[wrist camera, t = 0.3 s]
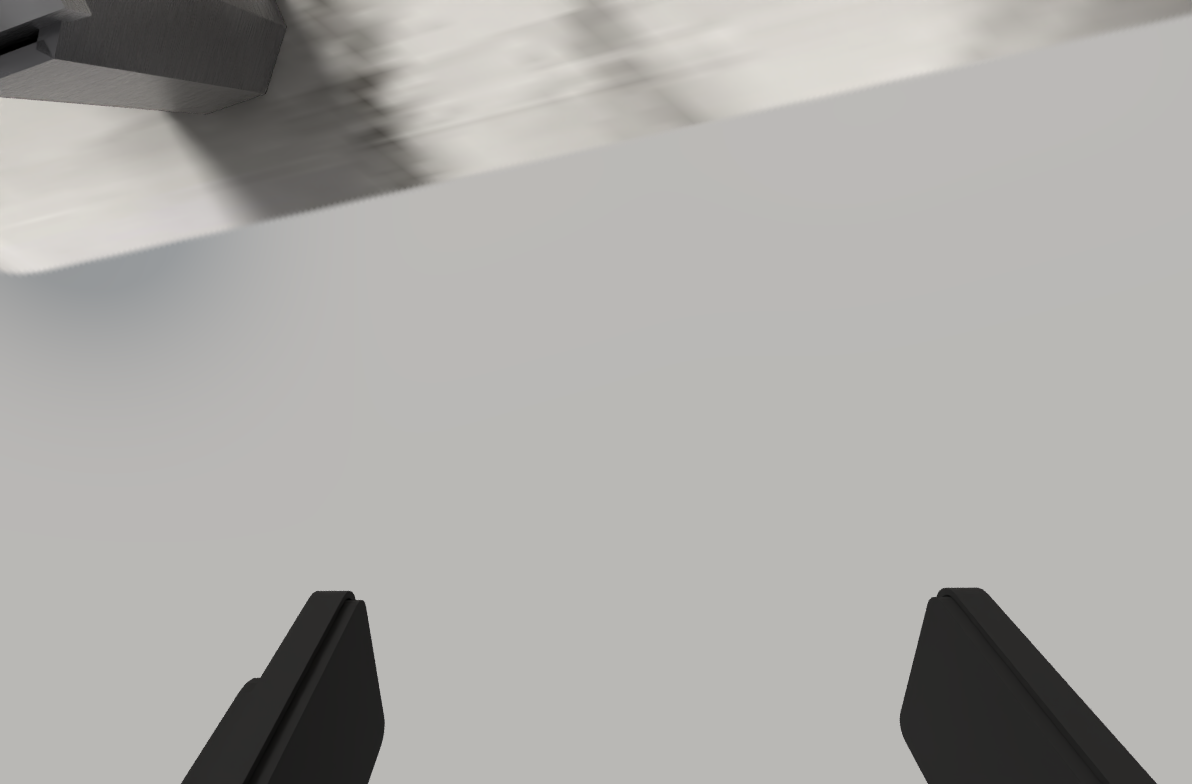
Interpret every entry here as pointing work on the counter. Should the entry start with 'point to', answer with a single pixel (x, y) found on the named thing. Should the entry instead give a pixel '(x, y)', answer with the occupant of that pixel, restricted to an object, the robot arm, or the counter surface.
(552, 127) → the counter surface
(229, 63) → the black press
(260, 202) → the counter surface
